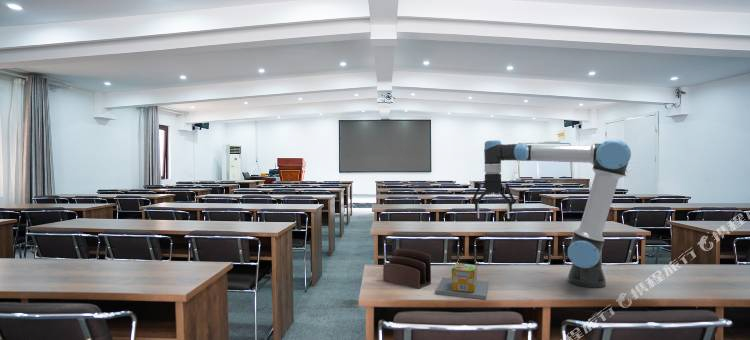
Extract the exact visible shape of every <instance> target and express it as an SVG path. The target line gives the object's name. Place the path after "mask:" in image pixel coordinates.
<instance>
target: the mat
mask: <svg viewBox="0 0 750 340" xmlns="http://www.w3.org/2000/svg"><path fill="white" fill-rule="evenodd" d="M488 290H489V281H485V280H484V281H483V280H477V282H476V288H475V291H474V293H469V292H461V291H453V290H452V277H442V278H441V280H440V281H439V284H438V285H437V287H436V289H435V293H434V295H439V296H440V295H441V296H447V295H448V297H457V296H460V297H459V298H466V297H468V298H470V299H475V298H478V299H479V300H485V299H486V300H487V295H488ZM478 299H477V300H478Z"/></svg>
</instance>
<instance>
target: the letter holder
mask: <svg viewBox="0 0 750 340" xmlns="http://www.w3.org/2000/svg"><path fill="white" fill-rule="evenodd" d="M431 258H432V257H431V255H430V254H428V253H426V252H423V251H419V250H415V249H414V250H413V249H408V248H395V249H394V256H389V258H388V263H383V267H382V268H383V269H382V281H384V282H389V283H393V284H398V285H402V286H404V287H405V286H406V287H409V288H413V289H419V290H420V289H422V288H424V287H427V286H429V285H431V284H432V271H431V270H432V267H431V266H432V264H431V263H432V259H431Z"/></svg>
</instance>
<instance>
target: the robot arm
mask: <svg viewBox="0 0 750 340" xmlns="http://www.w3.org/2000/svg"><path fill="white" fill-rule="evenodd" d="M483 151H484V183H477V189H476V190H475V192H474V194H473V197H472V198H471V201H470V203H472V204H474V211H475V212H477V219H480V204H479V202H481V200H482V199H483V198H484V197H485V195H487V194H497V193H499V194H500V195H501V196H502V197H503V199H504V200H505V201H506V202H507V203H508V204H507V206H506V207H507V208H506V210H507V212H506V213H507V215H506V217H507V219H510V212H513V208H512V207H513V204H516V203H517V202H516V201H517V200H515V197H514V195H513V193H512V192H511V190H510V189H509V183H502V174H501V173H502V161H519V162H525V161H526V162H527V161H528V162H530V161H531V162H559V163H561V162H562V163H585V164H587V163H589V164H591V165H593V167H592V171H593V172H594V177H593V180H592V183H591V187H590V191H589V195H588V197H587V201H586V205H585V207H584V212H583V213H582V214H583V215H582V218H581V222H580V225H579V228H577V229H575V230H574V231H573V232H572V236H571V237H572V238H571V240H570V241H571V242H570V244H569V246H568V247H567V256H568V258H569V260H570V262H571V263H572V264H571V267H570V269H569V272H568V275H567V281H568V283H570V284H572V285H576V286H579V287H584V288H595V289H596V288H597V289H599V288H604V287H606V285H607V284H606V283H607V281H606V277H605V274H604V271H603V269H602V268H603V267H602V265H603V264H602V259H603V258H602V254H603V253H602V252H603V248H604V243H605V238H604V236H603V232H604V228H605V225H606V222H607V219H608V216H609V211H610V209H611V206H612V202H613V199H614V196H615V192H616V189H617V185H618V182H619V180H620V179H622V178H623V177H625V174H626V173H627V172H626V171H627V168H628V166H629V162H630V160H631V156H632V152H631V148H630V147H629V145H628V143H626V142H624V141H622V140H619V139H608V140H604V141H603V142H602V143H593V144H592V145H556V144H554V145H549V144H547V145H546V144H545V145H543V144H542V145H537V144H536V145H535V144H534V145H533V144H532V145H531V144H527V143H511V144H502V142H501V140H499V139H498V140H496V139H495V140H487V141H485V142H484V150H483ZM502 187H503V189H505V190H506V191H507V193H508V195H509V197H507V195H505V194H504V192H503V191H502V190H501V189H502ZM482 188H484V189H485V190H484V191H483V193H482V194H480V196H479V197H478V194H479V193H480V190H481V189H482ZM477 197H478V198H477ZM476 198H477V199H476ZM509 198H510V199H509Z"/></svg>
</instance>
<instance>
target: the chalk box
mask: <svg viewBox="0 0 750 340" xmlns="http://www.w3.org/2000/svg"><path fill="white" fill-rule="evenodd" d="M477 274H478V265H477V264H471V263H470V264H469V263H462V262H461V263H460V262H455V264H454V266H453V267H452V268H451V278H452V290H453V291H461V292H469V293H474V291H475V288H476V282H477V281H478V280H477Z"/></svg>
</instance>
